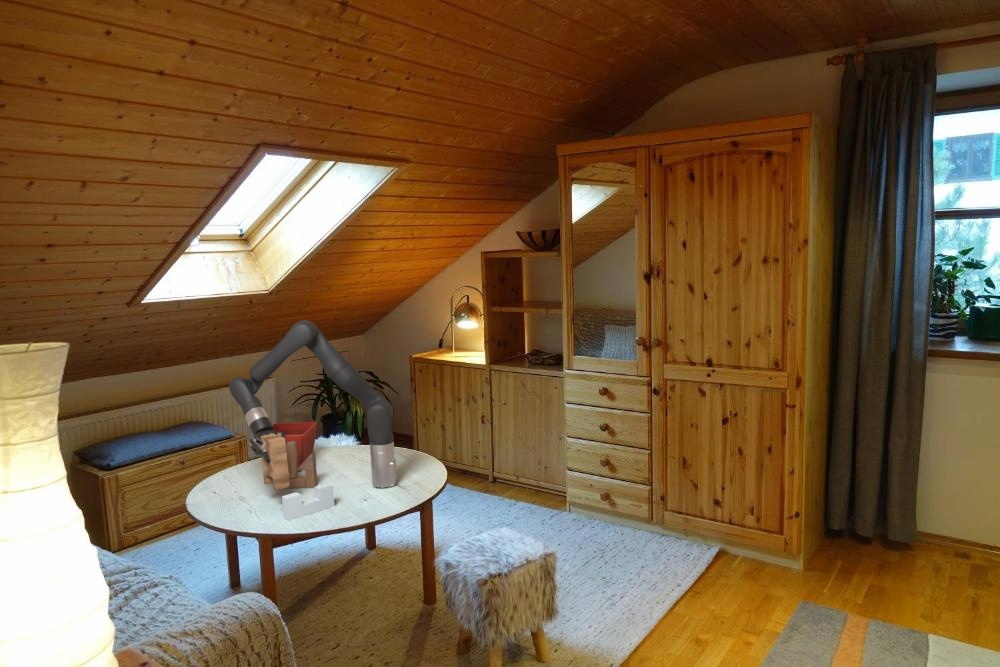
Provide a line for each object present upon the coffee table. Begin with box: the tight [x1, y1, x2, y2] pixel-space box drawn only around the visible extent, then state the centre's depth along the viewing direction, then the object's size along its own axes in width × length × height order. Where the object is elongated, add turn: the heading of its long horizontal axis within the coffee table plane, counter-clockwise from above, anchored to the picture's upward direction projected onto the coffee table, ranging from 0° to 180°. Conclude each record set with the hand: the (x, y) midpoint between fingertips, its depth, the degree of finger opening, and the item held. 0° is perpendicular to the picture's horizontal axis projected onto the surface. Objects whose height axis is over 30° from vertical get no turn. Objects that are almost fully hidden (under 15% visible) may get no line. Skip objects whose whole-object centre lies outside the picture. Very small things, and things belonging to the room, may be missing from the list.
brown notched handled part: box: [286, 441, 318, 489], centre depth 279 cm, size 4×11×18 cm, turn 87°
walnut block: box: [260, 434, 290, 491], centre depth 260 cm, size 10×5×18 cm, turn 43°
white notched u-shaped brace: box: [281, 482, 336, 522], centre depth 254 cm, size 18×4×8 cm, turn 133°
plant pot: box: [272, 421, 318, 472], centre depth 303 cm, size 19×19×17 cm
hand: (276, 459), depth 259 cm, fingers closed on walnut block, 5 cm apart
